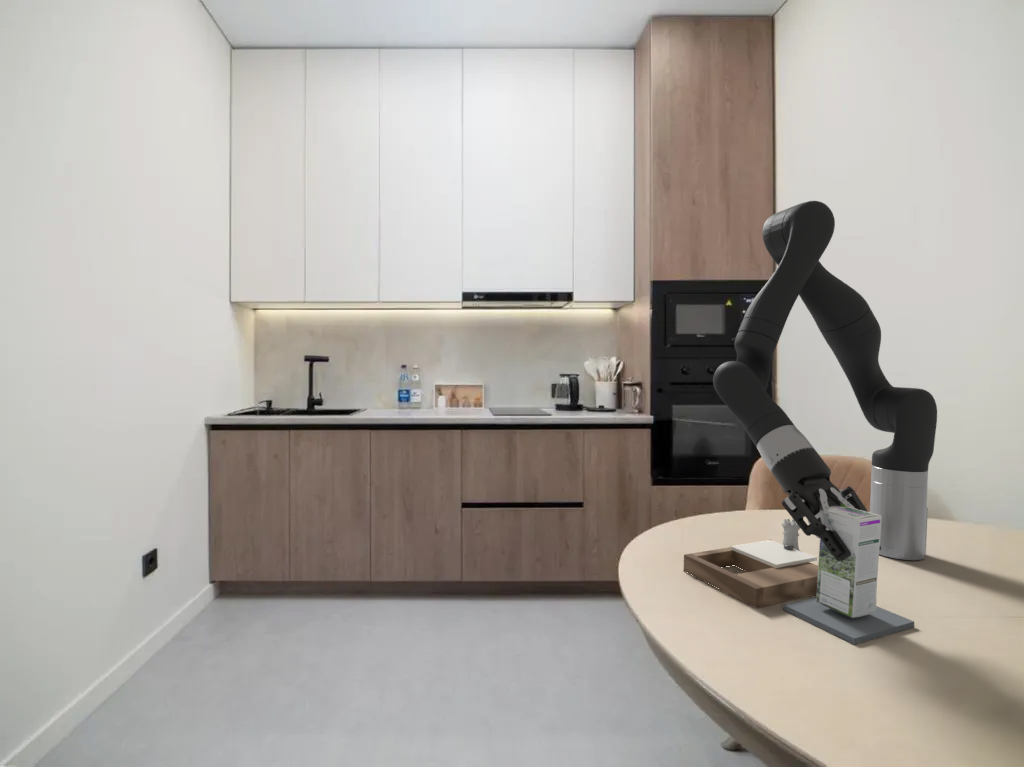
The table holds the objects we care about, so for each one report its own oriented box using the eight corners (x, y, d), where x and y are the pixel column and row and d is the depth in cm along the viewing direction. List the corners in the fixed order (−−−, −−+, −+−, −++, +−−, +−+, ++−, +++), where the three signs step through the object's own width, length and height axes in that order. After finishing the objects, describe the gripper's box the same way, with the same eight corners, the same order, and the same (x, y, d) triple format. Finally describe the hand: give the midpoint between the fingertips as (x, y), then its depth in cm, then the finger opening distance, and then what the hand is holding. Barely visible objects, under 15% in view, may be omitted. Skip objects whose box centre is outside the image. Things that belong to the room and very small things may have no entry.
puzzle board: (757, 558, 105) (757, 542, 105) (835, 590, 91) (836, 572, 90) (683, 571, 98) (684, 554, 98) (755, 608, 83) (756, 588, 83)
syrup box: (877, 613, 79) (884, 514, 79) (851, 619, 77) (858, 517, 76) (839, 597, 84) (845, 504, 84) (813, 602, 82) (820, 507, 81)
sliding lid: (769, 542, 105) (769, 536, 105) (817, 560, 96) (817, 553, 96) (730, 549, 101) (730, 542, 101) (776, 568, 92) (776, 561, 92)
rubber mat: (840, 596, 88) (841, 591, 88) (914, 627, 78) (914, 621, 78) (783, 609, 83) (783, 604, 83) (853, 644, 73) (854, 638, 73)
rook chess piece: (806, 568, 101) (808, 525, 100) (780, 565, 101) (781, 523, 101) (798, 559, 105) (800, 518, 105) (773, 557, 106) (775, 516, 105)
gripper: (774, 448, 84) (845, 549, 73) (837, 443, 89) (912, 537, 79) (745, 475, 89) (808, 574, 78) (807, 470, 94) (873, 561, 84)
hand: (860, 555), depth 79 cm, fingers open, 6 cm apart
